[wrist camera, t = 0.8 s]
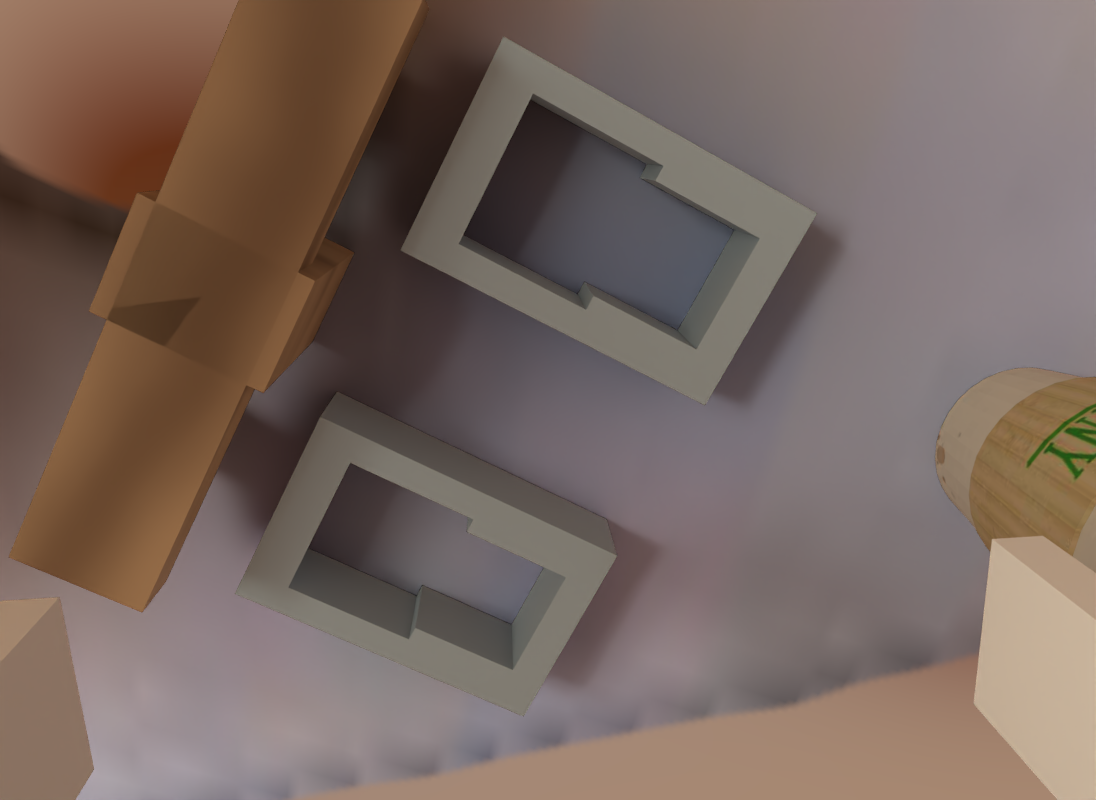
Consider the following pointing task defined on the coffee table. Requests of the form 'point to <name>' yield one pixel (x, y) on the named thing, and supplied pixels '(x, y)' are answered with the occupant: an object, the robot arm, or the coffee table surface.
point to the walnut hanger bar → (214, 285)
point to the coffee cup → (1025, 458)
